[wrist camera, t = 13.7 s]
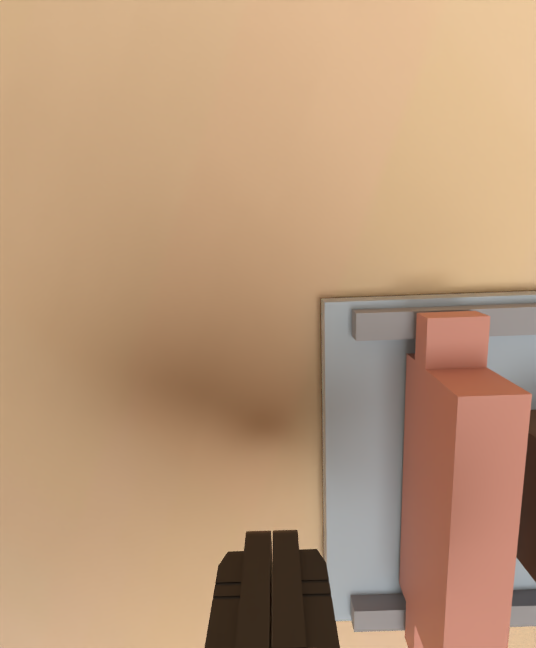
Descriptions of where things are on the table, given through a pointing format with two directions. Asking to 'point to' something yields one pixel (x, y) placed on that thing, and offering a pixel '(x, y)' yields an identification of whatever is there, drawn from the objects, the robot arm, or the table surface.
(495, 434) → the bar
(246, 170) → the table surface
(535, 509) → the walnut block
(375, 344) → the vise base
